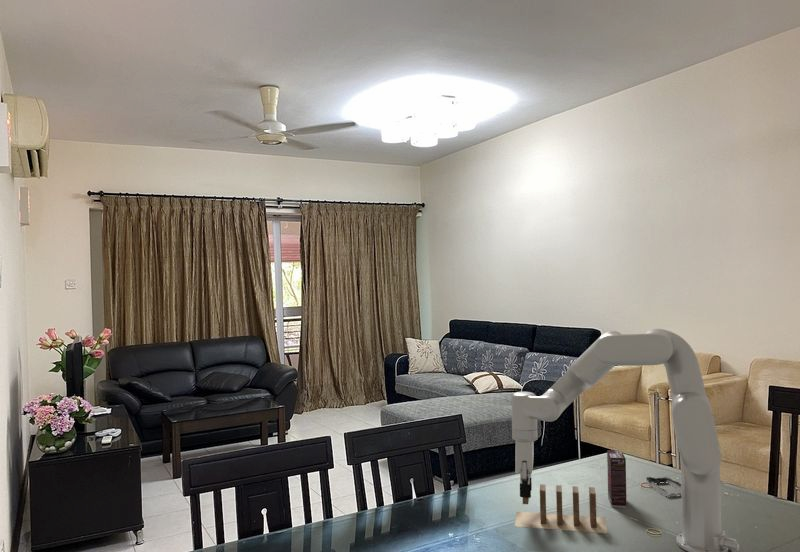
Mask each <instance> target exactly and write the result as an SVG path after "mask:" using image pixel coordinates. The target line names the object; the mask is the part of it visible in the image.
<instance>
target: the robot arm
mask: <svg viewBox="0 0 800 552" xmlns="http://www.w3.org/2000/svg"><path fill="white" fill-rule="evenodd" d="M658 365H664V368H665V372H666V376H667V381H668V385H669V390H670V395H671V417H672V422H673V427H674V432H675V437H676V441H677V447H678V450H679V457H680V459H679V460H680V483H681V490H680V491H681V492H680V493H681V496H680V497H681V524H682V525H681V526H682V528H681V531H682V532H681V533H679V534H678V535H677V536H676V541H675V542H676V545H677V546H679V547H680V548H681V549H683V550H684V551H686V552H729V549H730V550H733V551H737V552H738V551H739V550H740V544H739V542H737V541H738V540H737V539H735V538H729V537H728V536H727V535H726V531H725V530H723V529H722V503H721V499H722V498H721V491H722V489H721V464H722V452H721V446H720V444H719V437H718V433H717V427H716V423H715V418H714V414H713V409H712V406H711V403H710V401H709V398H708V396H707V395H708V394H707V392H706V387H705V382H704V379H703V375H702V372H701V367H700V364H699V360H698V358H697V355H696V354H695V351H694V349H693V348H692V346H691V345H690V344H689V343H688V342H687V340H685V339H684V338H683V337H681V336H680V335H678V334H676V333H675V332H672V331H670V330H667V329H664V328H653V329H649V330H648V331H646V332H644V333H632V334H631V333H630V334H629V333H628V334H626V333H625V334H622V333H621V332H618V331H615V330H609V331H606V332H604V333H602V334H601V335H600V336H599V337H598V338H597V339H596V340H595V341H594V342H593V343H592V344H591V345H590V346H589V347H588V348H586V350H585V351H584V352H583V353H582V354H581V355H580V356H579V357H578V358H576V360H574V361H573V362H572V364H570V366H569V367H568V369H567V370H566V372H565V373H564V374H562V376H561V377H560V378H559V379H558V380H557V381H555V383H554V384H553V385H551V387H549V388H548V389H547V390H546V391H545V392H544V393H543V394H542V395H539V396H538V395H536V393H534V392H530V391H516V392H514V393H513V394H512V395H511V436H512V437H511V439H512V440H513V441H515V450H514V451H515V452H514V453H515V456H514V457H515V459H514V461H515V467H514V468H515V469H514V470H515V474H516V475H518V474H520V476H519V477H520V482H519V497H520V498H523V497H525V498H530V499H531V497H532V489H533V487H532V486H533V485H532V484H533V483H532V474H533V468H534V457H535V456H534V455H535V454H534V450H535V449H534V447H535V446H534V443H535V442H536V441H537V440H538V437H539V436H538V435H539V434H538V429H539V428H538V421H539V420H540V421H544V422H554V421H556V420H558V418H559V417H560V416H561V414H562V413H563V412H564V411H565V410H566V409H567V408H568V407H569V406H570V405H571V404H572V403H573V402H574V401H575V400H576V399H577V398H578V397H579V396H580V395H582V393H585V391H587V390H589V389H591V388H593V387H594V386H596V384H597V383H599V382H600V381H601V380H602V379H603V378H604V377H605V376H606V375H607V374H608V373H609V372H610V371H611V370H612V369H613V368H614V367H615V366H623V367H624V366H631V367H632V366H658ZM527 472H528V474H527ZM527 476H528V477H527Z"/></svg>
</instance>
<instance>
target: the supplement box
mask: <svg viewBox="0 0 800 552" xmlns="http://www.w3.org/2000/svg"><path fill="white" fill-rule="evenodd" d="M606 453H607V455H606V456H607V458H606V459H607V461H606V462H607V498H608V502H609V503H610V507H611V508H623V509H624V508H626V509H627V507H628V506H627V504H628V503H627V463H626V457H625V455H624V453H623V451H622V450H616V449H615V450H613V449H611V450H610V449H609V450H607V451H606Z"/></svg>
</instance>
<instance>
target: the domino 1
mask: <svg viewBox="0 0 800 552" xmlns="http://www.w3.org/2000/svg"><path fill="white" fill-rule="evenodd" d="M527 474H528V472H527ZM527 477H528V476H527ZM529 502H530V499H529V498H525V497H522V505H529Z"/></svg>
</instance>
